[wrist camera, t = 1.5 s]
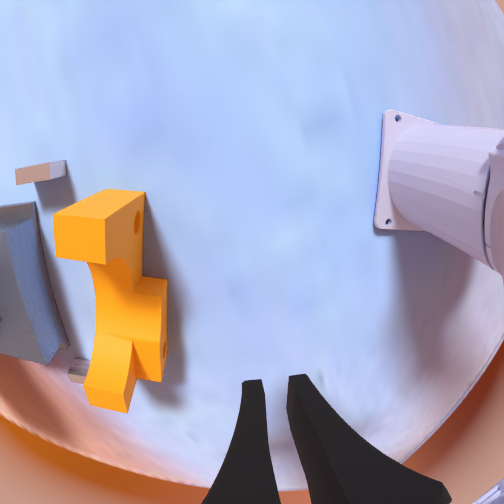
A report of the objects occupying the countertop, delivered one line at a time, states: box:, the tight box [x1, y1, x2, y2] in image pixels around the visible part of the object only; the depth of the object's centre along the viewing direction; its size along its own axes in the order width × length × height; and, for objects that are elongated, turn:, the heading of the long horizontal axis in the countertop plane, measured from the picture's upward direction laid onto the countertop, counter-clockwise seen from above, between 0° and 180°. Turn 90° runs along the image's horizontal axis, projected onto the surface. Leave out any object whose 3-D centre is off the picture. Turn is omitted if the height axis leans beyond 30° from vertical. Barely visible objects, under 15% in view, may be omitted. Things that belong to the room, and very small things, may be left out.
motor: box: [0, 160, 91, 384], centre depth 15 cm, size 10×17×4 cm, turn 179°
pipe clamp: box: [53, 189, 168, 413], centre depth 15 cm, size 12×4×6 cm, turn 171°
